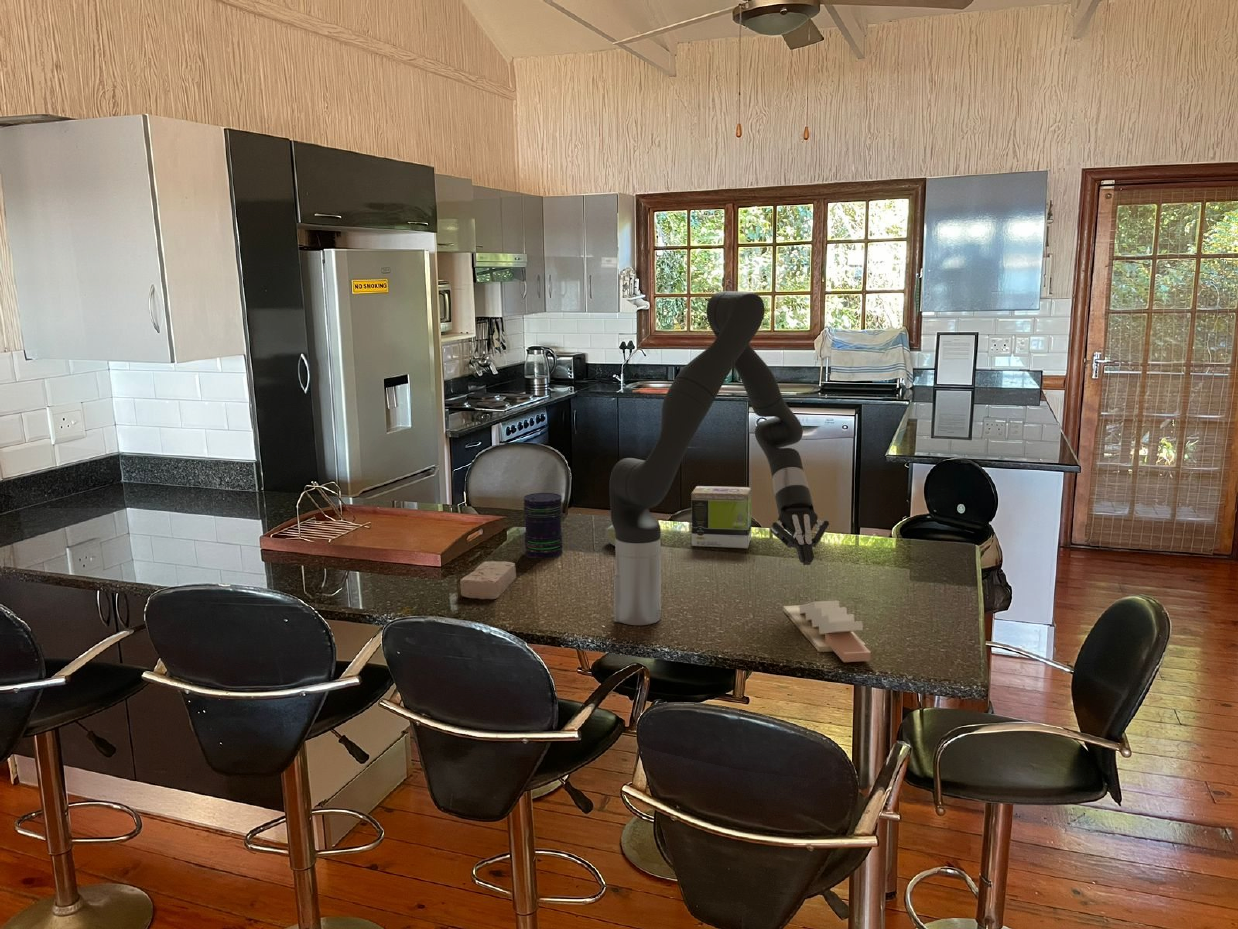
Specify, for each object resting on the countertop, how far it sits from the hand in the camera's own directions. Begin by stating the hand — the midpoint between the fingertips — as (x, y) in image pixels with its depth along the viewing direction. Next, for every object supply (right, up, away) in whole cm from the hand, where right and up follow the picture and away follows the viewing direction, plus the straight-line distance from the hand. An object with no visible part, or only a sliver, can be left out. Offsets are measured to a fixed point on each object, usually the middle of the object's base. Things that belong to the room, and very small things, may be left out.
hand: (807, 563), depth 194 cm
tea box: (-12, -1, +56) cm, 57 cm away
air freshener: (-37, -1, +54) cm, 66 cm away
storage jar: (-58, -3, +47) cm, 75 cm away
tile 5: (+2, -12, -17) cm, 21 cm away
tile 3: (+1, -11, -9) cm, 14 cm away
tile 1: (0, -9, -1) cm, 9 cm away
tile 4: (+2, -11, -13) cm, 17 cm away
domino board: (+1, -12, -7) cm, 14 cm away
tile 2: (+1, -10, -5) cm, 11 cm away
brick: (-69, -8, +20) cm, 72 cm away
